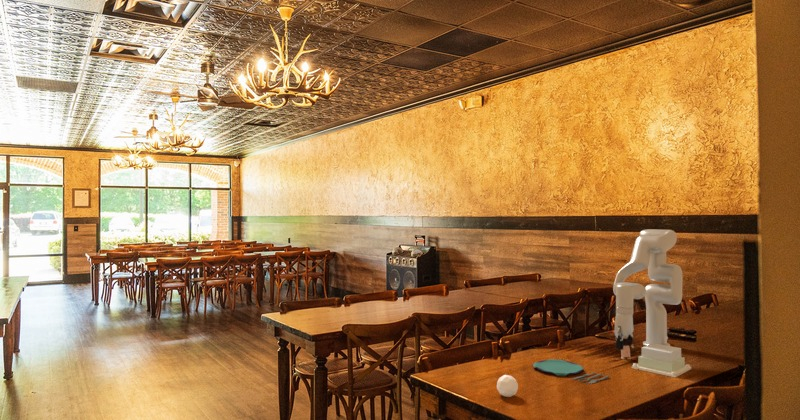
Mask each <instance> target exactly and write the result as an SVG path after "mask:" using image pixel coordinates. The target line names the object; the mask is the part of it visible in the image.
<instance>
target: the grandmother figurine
mask: <svg viewBox="0 0 800 420" xmlns="http://www.w3.org/2000/svg"><path fill="white" fill-rule="evenodd" d="M627 338H628V335H627V336H624V337H623V340H622V341H623V350H621V349H620V355H621V357H620V358H621V359H622V360H631V359H632V357H631V349H634V348H635V346H634V342H633V343H632V342H631V341H630V340H628V339H627ZM629 344H630V345H631V346H629ZM630 347H631V349H630Z"/></svg>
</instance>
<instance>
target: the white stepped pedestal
mask: <svg viewBox="0 0 800 420" xmlns="http://www.w3.org/2000/svg"><path fill="white" fill-rule="evenodd" d="M637 358H638V359H637V363H632V365H631V369H635V370H638V369H639V371H643V372H649V373H653V374H657V375H662V376H667V377H672V378H677V377H679V376H681V375H683V374H685V373H687V372H688V371H691V370H692V366H691V364H687V363H686V362H685V357H683V356H682V348H681V347H676V346H672V345H670V346H666V345H660V344H655V343H652V344H650V345H647V346H645V345H643V347H641V355H639V356H638V357H637Z"/></svg>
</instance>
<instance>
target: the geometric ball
mask: <svg viewBox="0 0 800 420" xmlns="http://www.w3.org/2000/svg"><path fill="white" fill-rule="evenodd" d="M518 388H519V384H518V382H517V379H516V378H514V376H512V375H508V374H504V375H502V376H500V377H499V378H498V380H497V382H496V389H497V391H498V393H499V394H500V395H501V396H503V397H504V398H506V397H507V398H511V397H513V396H514V395H516V394H517V391H518V390H519V389H518Z"/></svg>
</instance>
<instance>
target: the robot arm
mask: <svg viewBox="0 0 800 420" xmlns="http://www.w3.org/2000/svg"><path fill="white" fill-rule="evenodd" d="M677 239H678V236H677V232H675V231H674V230H672V229H653V228H652V229H651V228H650V229H649V228H648V229H643V230H640V231H639V236H638V237H637V238H635V241H634V245H633V248H632V253H631V255H630V260H629V261H628V263H626V264H625V265H623V266H622V267H621V269H619V271H618V272H617V273H616V276H615V279H614V282H613V285H612V290H613V294H614V295H615V319H614V337H615V348H616V349H617V350H620V351H621V350H623V341H622V340H623V337H624V336H627V335H628V338H627V339H628V340H630V341H631V342H632V343H633V344H634V342H633V341H634V329H635V327H634V317H633V316H634V300H641V299H643V298H644V301H645V310H646V311H645V313H646V314H645V316H646V317H645V320H646V323H645V329H646V330H645V334H646V335H645V339H646V340H645V341H642V344H643V346H647V345H650V344H652V343H655V344H660V345H666V346H671V344H670V343H669V342H667V341H668V339H669V337H668V326H667V325H668V320H667V319H668V318H667V317H668V314H667V309H666V307H665V305H672V306H673V305H675V306H677V305H680V304H681V303H682V299H683V279H684V278H683V277H684V276H683V270H682V268H681V266H680V265H678V264H676V263H667V252H669V250H671V249H672V248H673V247H675V245H676V243H677ZM646 269H647V276H648V278H649V280H650V281H653V282H661V283H669V284H660V283H650V284H647V285H646V286H644V285H643V284H641V283H636V282H627V281H625V280H626V279H627V278H628V277H630V276H631V275H633V274H637V273H638V272H642V271H645V270H646ZM663 304H664V305H663ZM629 347H631V345H630V344H629Z"/></svg>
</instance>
